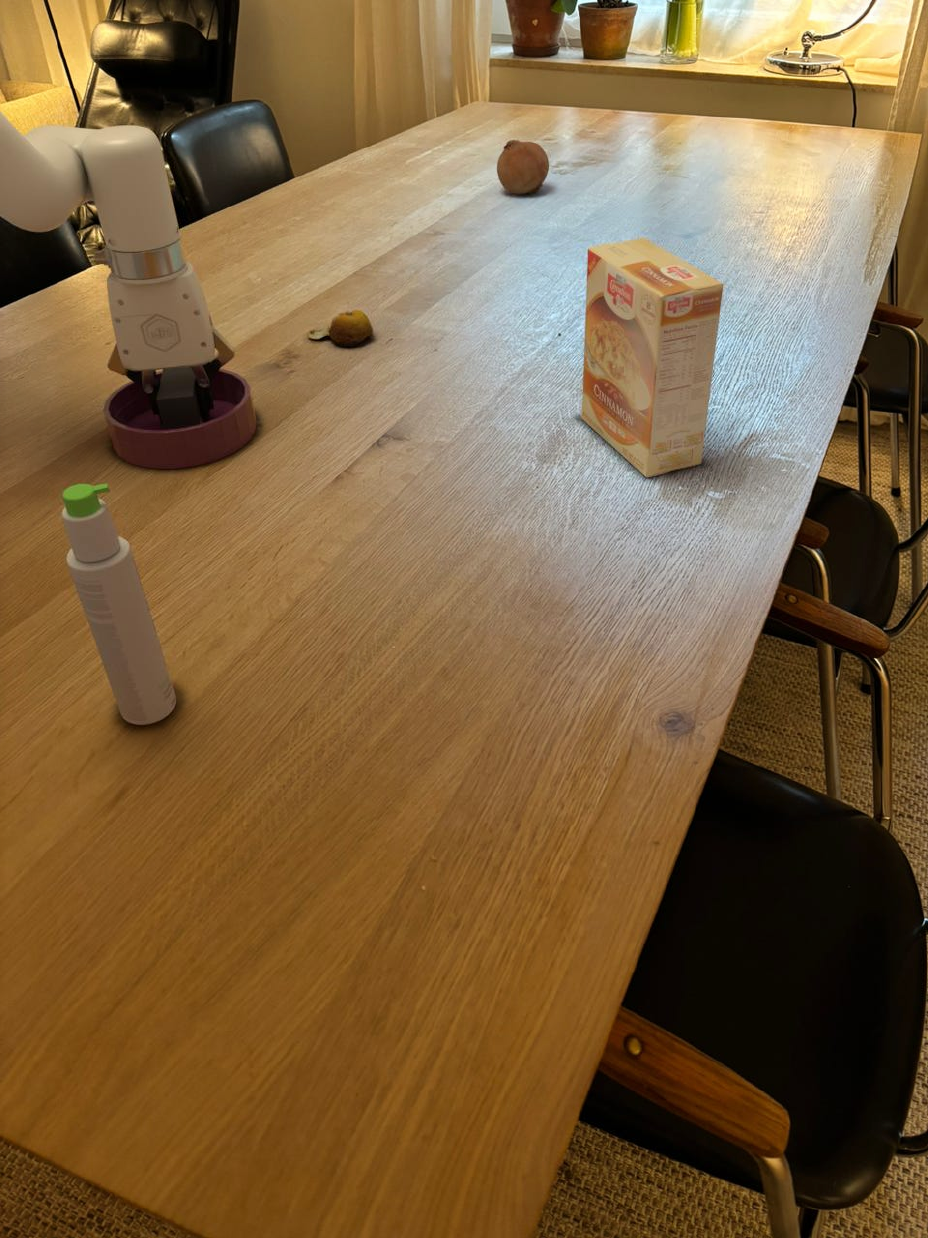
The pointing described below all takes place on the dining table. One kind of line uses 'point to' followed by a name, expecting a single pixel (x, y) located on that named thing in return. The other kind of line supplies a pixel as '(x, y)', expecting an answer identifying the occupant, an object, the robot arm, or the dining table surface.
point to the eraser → (178, 399)
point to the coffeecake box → (649, 353)
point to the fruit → (346, 329)
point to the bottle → (116, 607)
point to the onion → (522, 167)
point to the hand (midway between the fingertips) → (185, 415)
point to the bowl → (186, 447)
